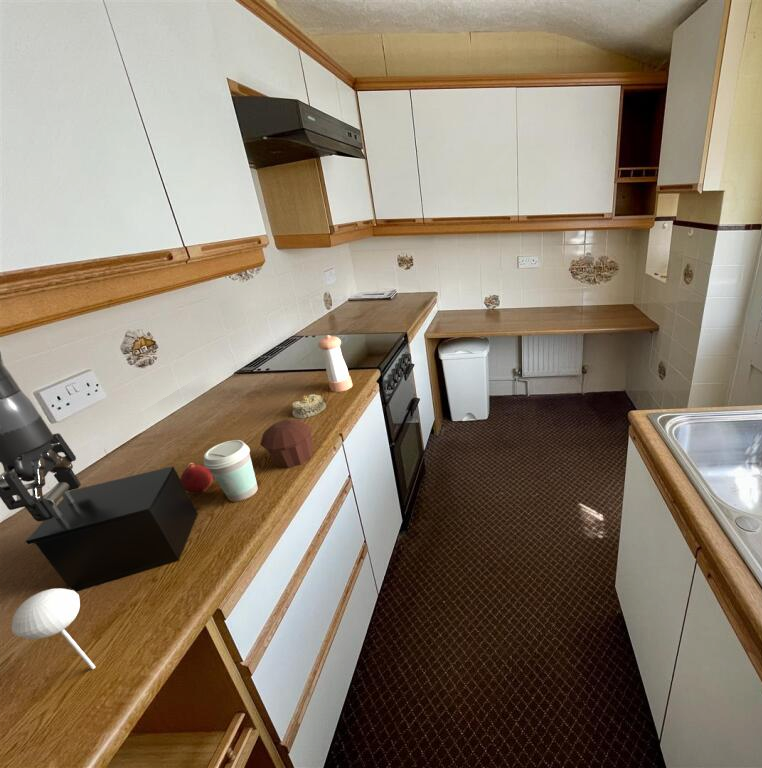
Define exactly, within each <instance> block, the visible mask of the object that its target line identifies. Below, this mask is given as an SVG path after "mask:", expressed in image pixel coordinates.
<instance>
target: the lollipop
mask: <svg viewBox="0 0 762 768" xmlns="http://www.w3.org/2000/svg"><path fill="white" fill-rule="evenodd" d="M80 609H81V600H80V595H79V593H77V592H75V591H73V590H71V589H67V588H58V587H56V588H50V589H44V590H42V591H40V592H37V593H35V594H33V595H32V596H30V597H29V598H27V599H26V600H24V601H23V602H22V603H21V604H20V606H19V607H18V608H17V609H16V611H15V613H14V615H13V616H12V623H11V632H12V633H13V634H14V636H17V637H20V638H23V639H26V640H42V639H47V638H49V637H51V636H55V635H56V634H59V633H60V634H61V635H62V637H63V638H64V639H65V640H66V641H67V643H68V644H69V645H70V646H71V647H72V649H74V651H75V652H76V653H77V654H78V656H79V657H80V658H81V659H82V660H83V661H84V663H85V664H86V665H87V666H88V667H89V669H90V670H92V671H93V670H94V669H96V667H97V666H96V665H95V664H94V662H93V661H92V659H90V658H89V656H88V655H87V654H86V653H85V652H84V651H83V650H82V648H81V647H80V646H79V645H78V643H77V642H76V641H75V640H74V639H73V638H72V636H71V635H70V633H68V632H67V630H66V628H68V627H69V626H70V625H71V624H72V622H74V621H75V620H76V618H77V616H78V614H79V612H80Z"/></svg>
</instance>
